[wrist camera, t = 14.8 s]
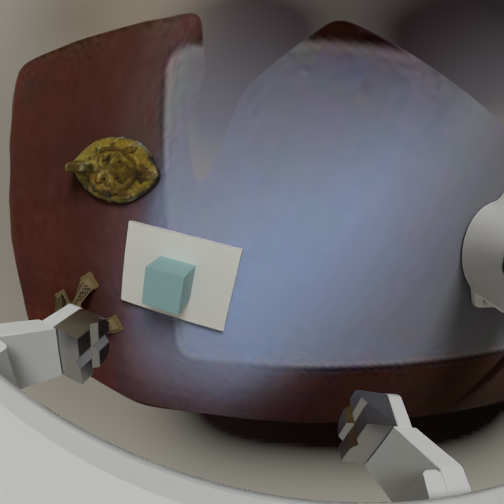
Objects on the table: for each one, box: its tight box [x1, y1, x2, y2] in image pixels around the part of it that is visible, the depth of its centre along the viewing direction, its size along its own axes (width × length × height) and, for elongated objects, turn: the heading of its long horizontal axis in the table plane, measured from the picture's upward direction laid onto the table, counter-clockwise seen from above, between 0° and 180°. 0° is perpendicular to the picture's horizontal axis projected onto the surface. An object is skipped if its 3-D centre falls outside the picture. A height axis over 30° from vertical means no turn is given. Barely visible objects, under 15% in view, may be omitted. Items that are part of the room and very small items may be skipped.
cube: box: [142, 256, 196, 315], centre depth 38 cm, size 5×5×5 cm
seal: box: [65, 137, 161, 203], centre depth 37 cm, size 9×5×15 cm
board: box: [121, 220, 243, 331], centre depth 41 cm, size 16×12×1 cm
